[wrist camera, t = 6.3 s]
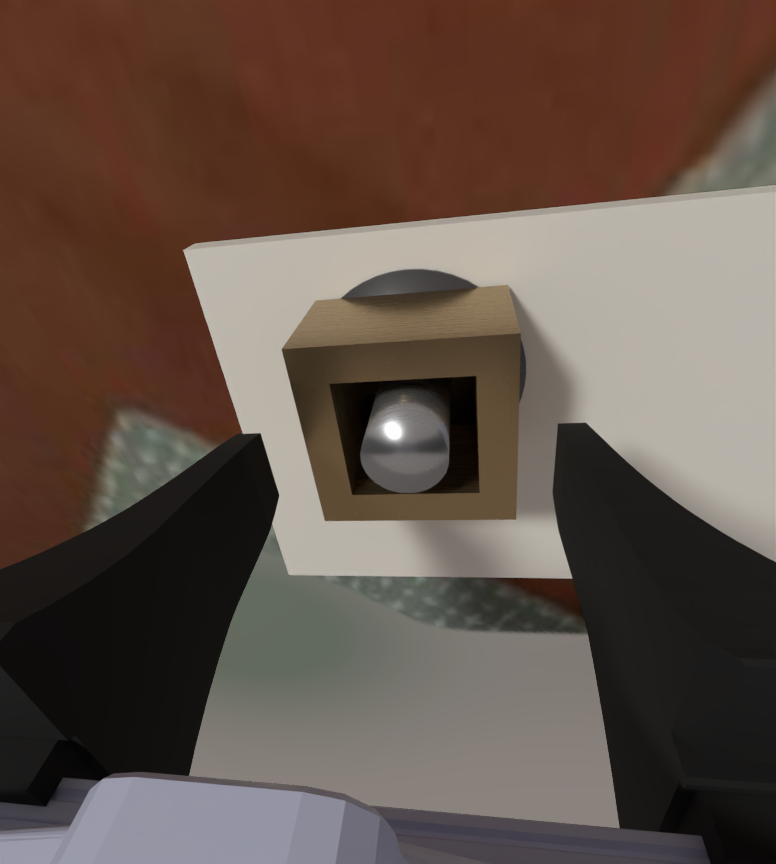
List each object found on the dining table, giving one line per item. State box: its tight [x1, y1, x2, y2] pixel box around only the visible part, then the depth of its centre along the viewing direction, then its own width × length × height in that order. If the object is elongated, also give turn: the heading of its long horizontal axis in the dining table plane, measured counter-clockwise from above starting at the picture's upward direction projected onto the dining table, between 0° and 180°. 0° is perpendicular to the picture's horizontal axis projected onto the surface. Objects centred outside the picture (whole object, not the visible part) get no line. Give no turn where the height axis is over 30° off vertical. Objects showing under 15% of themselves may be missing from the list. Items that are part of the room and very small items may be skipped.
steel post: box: [340, 269, 526, 493], centre depth 14 cm, size 7×7×4 cm
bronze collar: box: [282, 285, 521, 521], centre depth 15 cm, size 6×6×4 cm
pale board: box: [183, 185, 776, 578], centre depth 17 cm, size 22×14×1 cm, turn 96°
